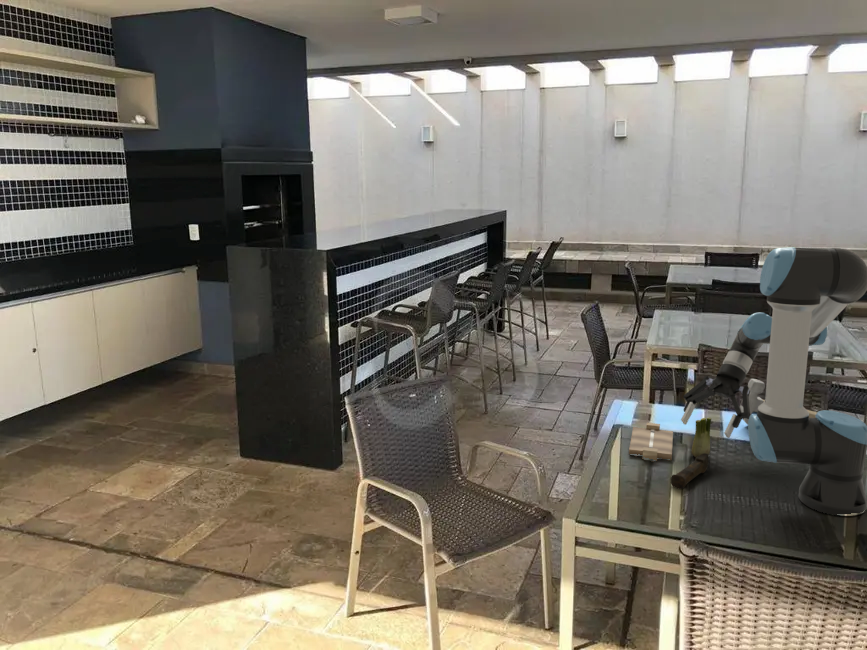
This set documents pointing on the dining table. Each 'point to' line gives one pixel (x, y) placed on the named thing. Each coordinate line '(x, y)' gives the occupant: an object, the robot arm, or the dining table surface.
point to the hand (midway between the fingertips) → (704, 428)
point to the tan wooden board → (651, 442)
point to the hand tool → (690, 471)
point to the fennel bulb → (701, 437)
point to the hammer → (755, 401)
